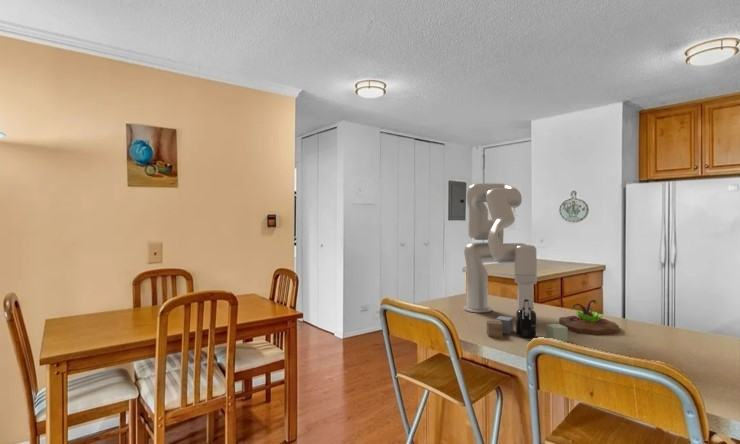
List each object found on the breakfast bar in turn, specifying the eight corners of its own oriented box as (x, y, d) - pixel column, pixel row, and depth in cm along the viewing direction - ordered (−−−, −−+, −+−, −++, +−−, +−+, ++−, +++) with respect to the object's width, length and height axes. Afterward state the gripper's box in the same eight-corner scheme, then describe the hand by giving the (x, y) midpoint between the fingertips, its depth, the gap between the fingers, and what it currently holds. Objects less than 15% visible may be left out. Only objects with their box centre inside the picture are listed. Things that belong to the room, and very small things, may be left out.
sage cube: (546, 338, 140) (546, 324, 140) (559, 337, 140) (559, 323, 140) (554, 342, 135) (553, 328, 135) (567, 342, 135) (567, 327, 135)
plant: (629, 337, 141) (629, 306, 141) (570, 335, 144) (570, 304, 144) (605, 322, 160) (605, 295, 160) (555, 320, 164) (555, 294, 164)
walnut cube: (486, 332, 148) (486, 319, 148) (500, 333, 147) (500, 320, 147) (488, 336, 143) (488, 323, 143) (502, 337, 142) (502, 323, 142)
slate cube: (500, 328, 153) (499, 315, 153) (513, 330, 150) (513, 317, 150) (496, 331, 149) (496, 318, 149) (509, 333, 146) (509, 320, 146)
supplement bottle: (533, 339, 138) (533, 306, 138) (513, 336, 142) (513, 303, 142) (538, 335, 144) (538, 302, 143) (519, 331, 148) (519, 300, 148)
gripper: (514, 275, 152) (514, 320, 152) (514, 282, 136) (515, 333, 136) (535, 275, 150) (535, 322, 150) (538, 283, 133) (538, 335, 133)
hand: (526, 326), depth 143 cm, fingers closed on supplement bottle, 6 cm apart
